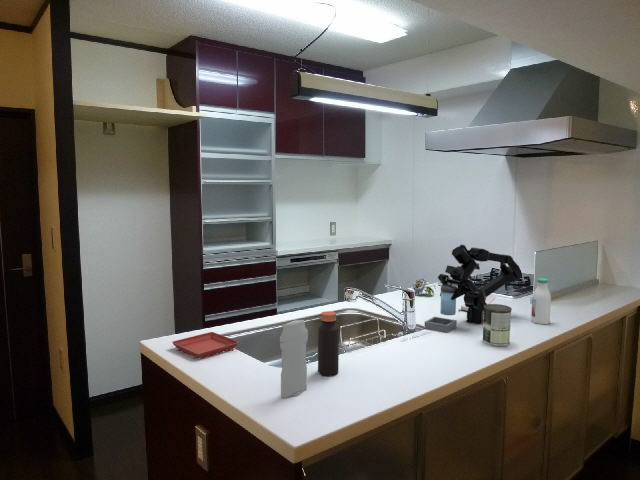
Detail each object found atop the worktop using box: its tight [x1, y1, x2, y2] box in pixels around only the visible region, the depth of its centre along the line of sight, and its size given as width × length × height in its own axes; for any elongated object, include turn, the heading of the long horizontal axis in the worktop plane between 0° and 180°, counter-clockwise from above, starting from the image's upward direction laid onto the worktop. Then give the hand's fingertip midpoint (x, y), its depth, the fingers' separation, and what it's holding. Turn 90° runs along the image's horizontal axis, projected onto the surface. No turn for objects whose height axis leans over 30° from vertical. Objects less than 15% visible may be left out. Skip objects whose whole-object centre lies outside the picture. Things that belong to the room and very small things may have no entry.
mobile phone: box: [458, 293, 498, 312], centre depth 244 cm, size 6×6×25 cm
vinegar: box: [317, 310, 340, 377], centre depth 157 cm, size 7×7×20 cm
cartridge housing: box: [423, 316, 458, 333], centre depth 210 cm, size 10×10×3 cm
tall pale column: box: [279, 319, 309, 399], centre depth 141 cm, size 11×4×22 cm, turn 135°
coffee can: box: [482, 303, 513, 347], centre depth 190 cm, size 10×10×14 cm
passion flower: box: [410, 277, 437, 297], centre depth 274 cm, size 11×11×12 cm
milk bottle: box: [530, 277, 552, 325], centre depth 219 cm, size 8×8×20 cm
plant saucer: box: [172, 331, 240, 359], centre depth 180 cm, size 18×18×3 cm
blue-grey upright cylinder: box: [440, 284, 458, 316], centre depth 210 cm, size 7×7×12 cm
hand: (446, 297), depth 210 cm, fingers closed on blue-grey upright cylinder, 6 cm apart
